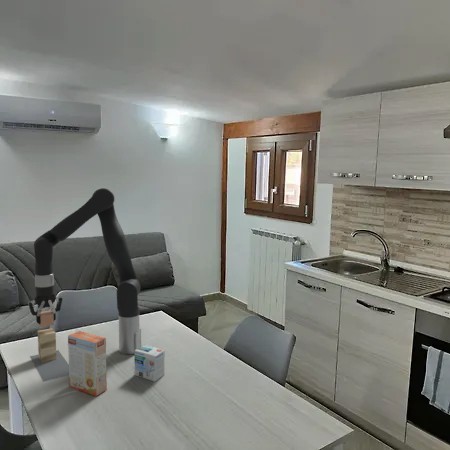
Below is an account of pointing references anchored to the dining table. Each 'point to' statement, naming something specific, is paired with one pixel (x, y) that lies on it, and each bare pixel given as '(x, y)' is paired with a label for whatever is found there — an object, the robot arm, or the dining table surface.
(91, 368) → the cracker box
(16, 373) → the dining table surface
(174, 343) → the dining table surface
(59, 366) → the rubber mat
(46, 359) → the tower base
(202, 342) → the dining table surface
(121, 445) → the dining table surface
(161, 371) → the light bulb box
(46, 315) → the terracotta cube
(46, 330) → the tower mid
